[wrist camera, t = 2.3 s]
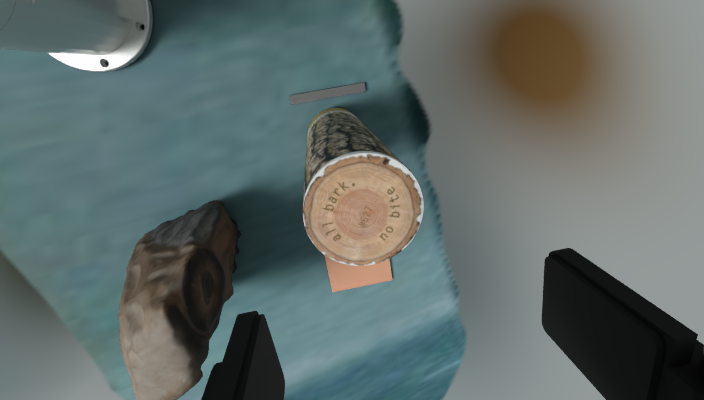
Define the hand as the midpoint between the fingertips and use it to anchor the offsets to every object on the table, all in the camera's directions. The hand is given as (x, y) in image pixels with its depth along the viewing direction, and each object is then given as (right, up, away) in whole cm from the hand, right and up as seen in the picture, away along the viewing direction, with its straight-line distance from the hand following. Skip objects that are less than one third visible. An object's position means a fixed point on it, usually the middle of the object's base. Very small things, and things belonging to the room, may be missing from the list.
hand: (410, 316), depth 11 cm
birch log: (-4, +12, +31) cm, 34 cm away
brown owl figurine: (-22, -2, +34) cm, 41 cm away
